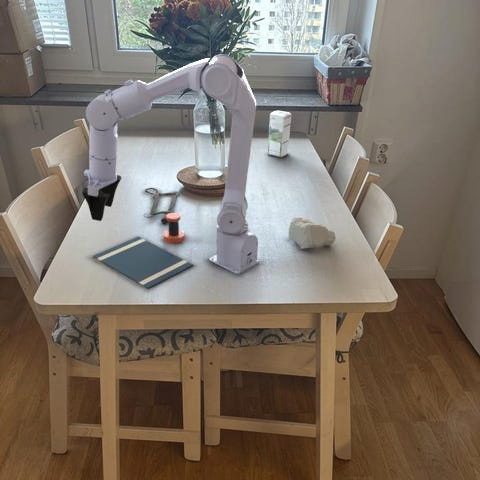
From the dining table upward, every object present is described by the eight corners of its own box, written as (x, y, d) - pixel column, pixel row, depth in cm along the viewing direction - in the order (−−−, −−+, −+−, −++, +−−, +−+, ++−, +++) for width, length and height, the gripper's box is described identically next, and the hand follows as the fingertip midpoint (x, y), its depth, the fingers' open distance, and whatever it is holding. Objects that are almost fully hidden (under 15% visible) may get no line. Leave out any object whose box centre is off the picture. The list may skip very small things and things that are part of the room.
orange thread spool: (188, 238, 130) (187, 215, 127) (173, 245, 127) (172, 222, 123) (174, 232, 133) (173, 209, 129) (159, 238, 130) (158, 215, 126)
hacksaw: (168, 225, 136) (168, 220, 135) (130, 224, 136) (130, 218, 135) (179, 190, 155) (179, 185, 154) (146, 188, 155) (145, 184, 154)
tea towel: (193, 265, 120) (193, 264, 120) (147, 289, 111) (147, 287, 111) (138, 237, 130) (138, 236, 130) (92, 257, 121) (92, 255, 121)
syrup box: (288, 153, 185) (292, 112, 177) (280, 158, 181) (284, 115, 173) (274, 150, 188) (277, 109, 179) (266, 154, 184) (269, 113, 175)
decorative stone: (342, 240, 129) (331, 218, 121) (317, 266, 129) (304, 245, 121) (313, 220, 135) (301, 198, 127) (290, 245, 135) (276, 224, 127)
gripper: (95, 140, 114) (94, 196, 123) (72, 162, 103) (74, 222, 111) (126, 147, 115) (123, 202, 123) (107, 170, 103) (105, 229, 111)
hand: (102, 212), depth 117 cm, fingers open, 7 cm apart
